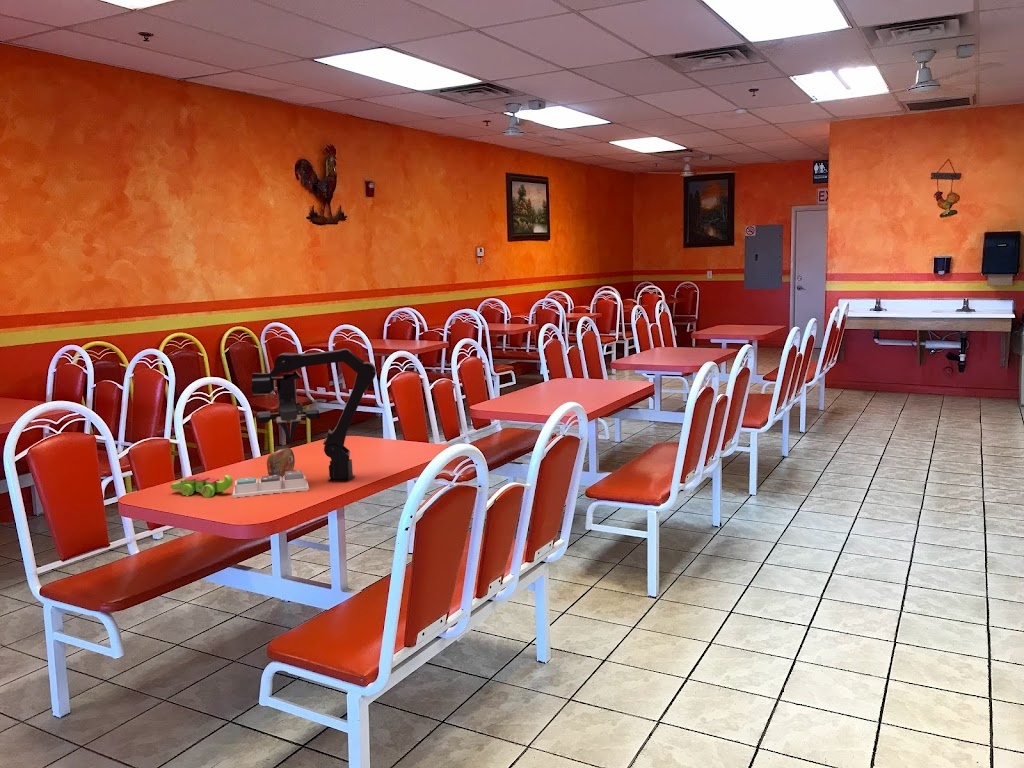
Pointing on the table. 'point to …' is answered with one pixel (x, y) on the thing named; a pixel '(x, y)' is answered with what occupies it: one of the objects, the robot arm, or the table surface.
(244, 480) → the key one dot
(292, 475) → the key two dots
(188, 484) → the toy crocodile
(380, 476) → the table surface
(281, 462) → the brown flat rounded piece
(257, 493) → the keypad
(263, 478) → the key three dots
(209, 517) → the table surface
